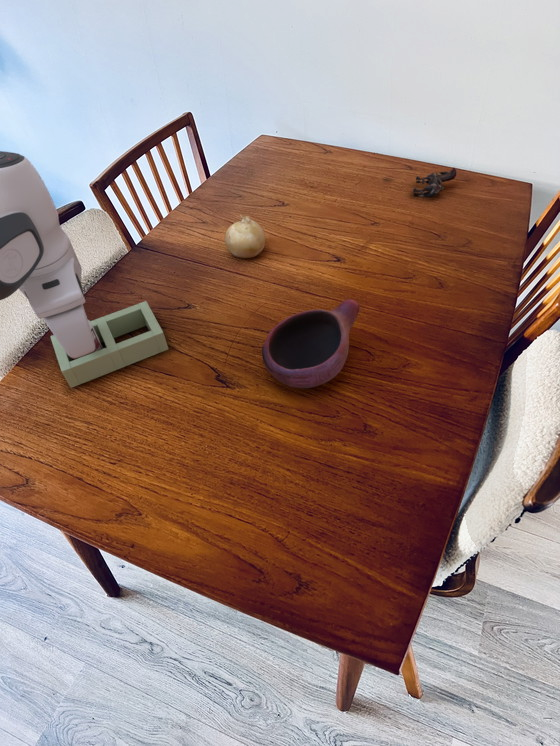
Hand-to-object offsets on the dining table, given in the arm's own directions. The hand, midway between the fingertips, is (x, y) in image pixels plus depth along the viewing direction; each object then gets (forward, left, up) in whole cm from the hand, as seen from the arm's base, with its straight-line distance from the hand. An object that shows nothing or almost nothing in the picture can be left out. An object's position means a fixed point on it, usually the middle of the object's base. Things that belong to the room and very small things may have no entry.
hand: (80, 338), depth 82 cm
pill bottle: (0, 0, -4) cm, 4 cm away
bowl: (+31, -19, -5) cm, 37 cm away
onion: (+35, +13, -5) cm, 38 cm away
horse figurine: (+77, +13, -5) cm, 78 cm away
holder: (+4, 0, -5) cm, 6 cm away
